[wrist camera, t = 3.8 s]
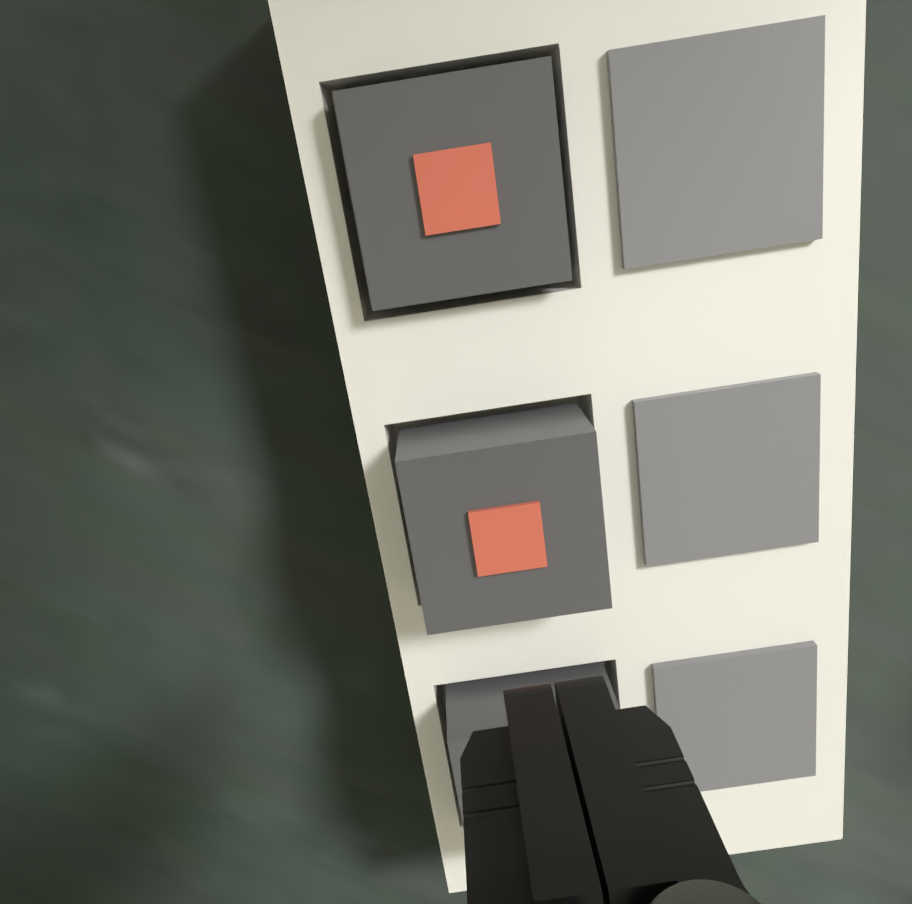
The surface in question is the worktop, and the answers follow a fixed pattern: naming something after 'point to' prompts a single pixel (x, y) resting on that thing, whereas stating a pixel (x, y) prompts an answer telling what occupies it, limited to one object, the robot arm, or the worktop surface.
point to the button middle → (505, 517)
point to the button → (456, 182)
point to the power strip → (641, 366)
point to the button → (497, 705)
